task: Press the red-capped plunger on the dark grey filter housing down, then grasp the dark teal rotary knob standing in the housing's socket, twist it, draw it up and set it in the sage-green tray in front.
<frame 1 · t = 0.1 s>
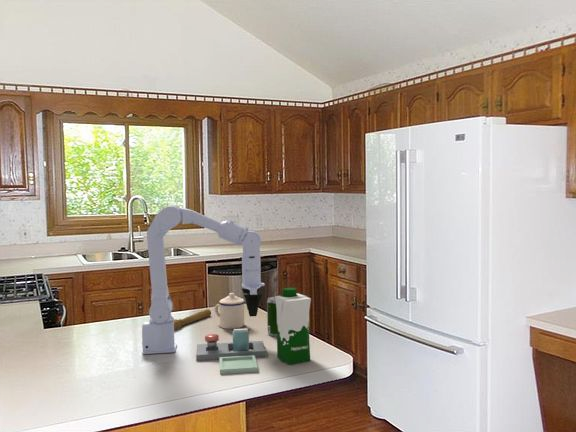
hand: (252, 313, 161), 10 cm above the countertop, fingers open, 7 cm apart
tap handle: (183, 326, 186), on the countertop
plunger: (211, 341, 153), point 4 cm above the countertop, slide at 0.0 cm
milk carton: (293, 360, 148), on the countertop
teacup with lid: (229, 325, 185), on the countertop
rotary knob: (241, 352, 155), resting in housing
housing: (230, 352, 154), on the countertop
tray: (238, 366, 143), on the countertop
beer can: (275, 334, 173), on the countertop
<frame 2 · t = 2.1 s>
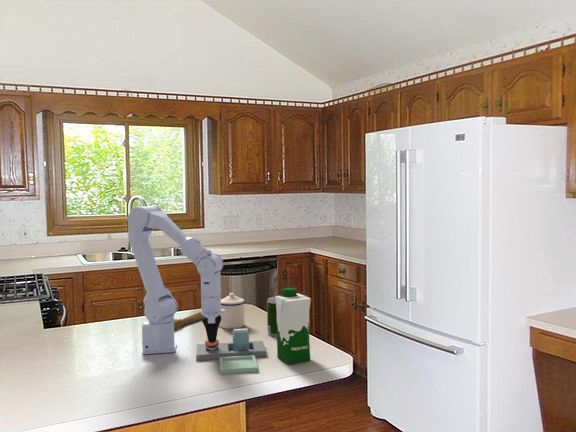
hand: (212, 341, 153), 4 cm above the countertop, fingers closed, pressing on plunger
plunger: (212, 346, 153), point 2 cm above the countertop, slide at 1.6 cm, touching gripper
everything else where it was.
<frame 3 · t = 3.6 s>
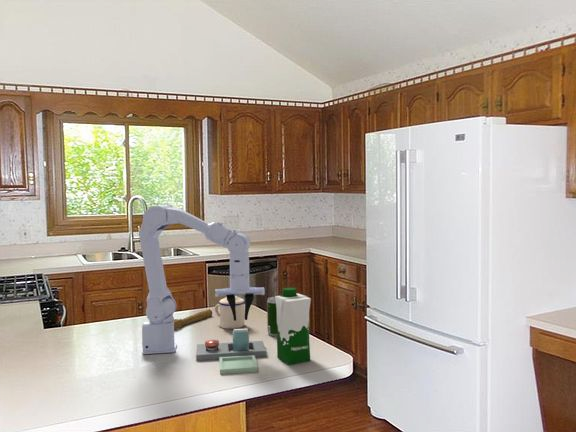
hand: (240, 319, 154), 10 cm above the countertop, fingers open, 3 cm apart
plunger: (212, 347, 153), point 2 cm above the countertop, slide at 1.7 cm
everything else where it was.
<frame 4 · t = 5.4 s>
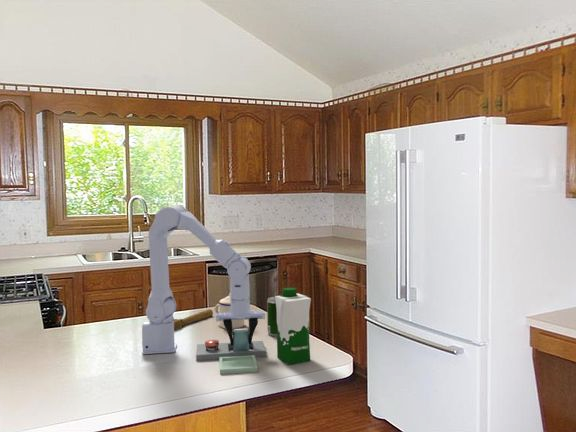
hand: (240, 343, 155), 3 cm above the countertop, fingers closed on rotary knob, 5 cm apart
rotary knob: (241, 352, 155), resting in housing, touching gripper
everything else where it was.
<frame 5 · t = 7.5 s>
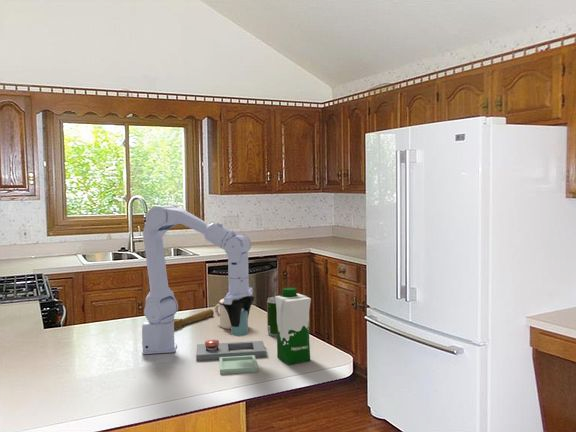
hand: (239, 324, 149), 10 cm above the countertop, fingers closed on rotary knob, 5 cm apart
rotary knob: (239, 333, 149), point 7 cm above the countertop, touching gripper
everything else where it was.
when the fingers open (4 cm above the countertop, at t = 9.5 s): rotary knob stays where it is, resting on tray.
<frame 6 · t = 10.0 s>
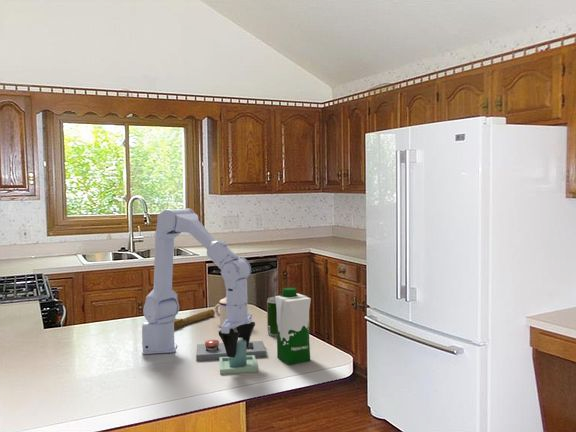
hand: (237, 352, 143), 4 cm above the countertop, fingers open, 7 cm apart
rotary knob: (237, 364, 143), resting on tray
everything else where it was.
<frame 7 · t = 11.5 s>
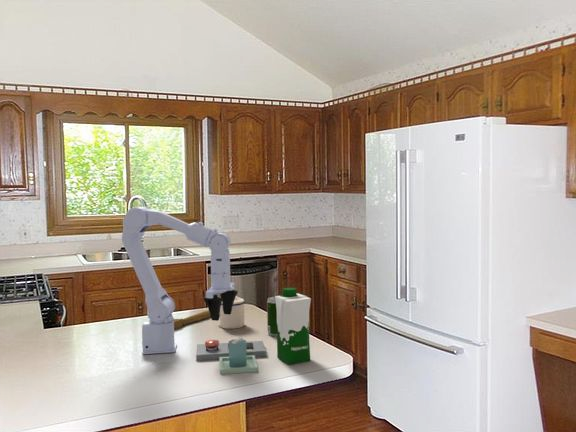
hand: (221, 317, 157), 10 cm above the countertop, fingers open, 7 cm apart
nothing on the countertop moved.
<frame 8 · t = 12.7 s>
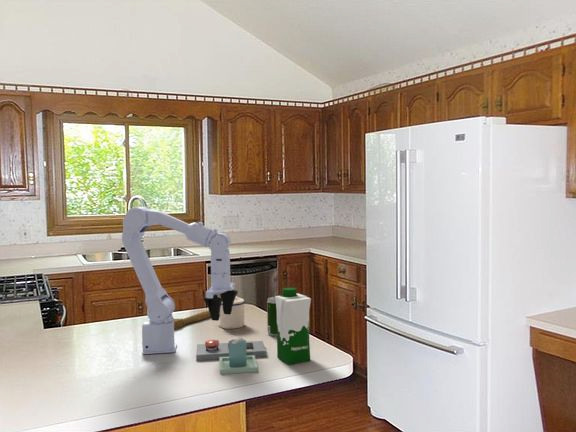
hand: (221, 317, 157), 10 cm above the countertop, fingers open, 7 cm apart
nothing on the countertop moved.
at the end: rotary knob inside the target area on the tray (0.0 cm from its centre), point 0.5 cm above the tray's base; rotary knob tilted 0°; plunger slide at 1.7 cm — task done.
